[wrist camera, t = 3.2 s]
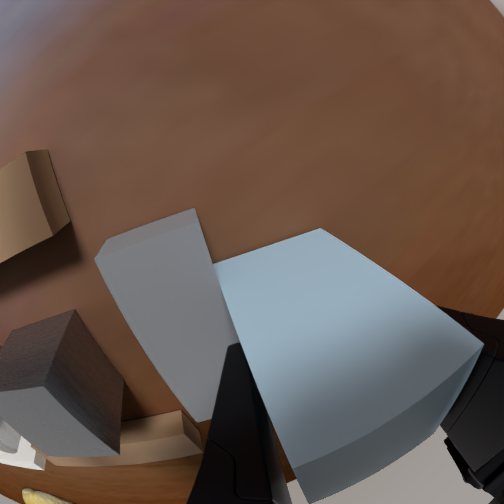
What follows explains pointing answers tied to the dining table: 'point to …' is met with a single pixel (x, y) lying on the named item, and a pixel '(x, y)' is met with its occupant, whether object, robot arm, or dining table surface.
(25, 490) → the bread roll
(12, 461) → the white bevelled strip
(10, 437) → the silver rounded piece
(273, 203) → the dining table surface
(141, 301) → the light blue block
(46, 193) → the slot rails
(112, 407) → the block
